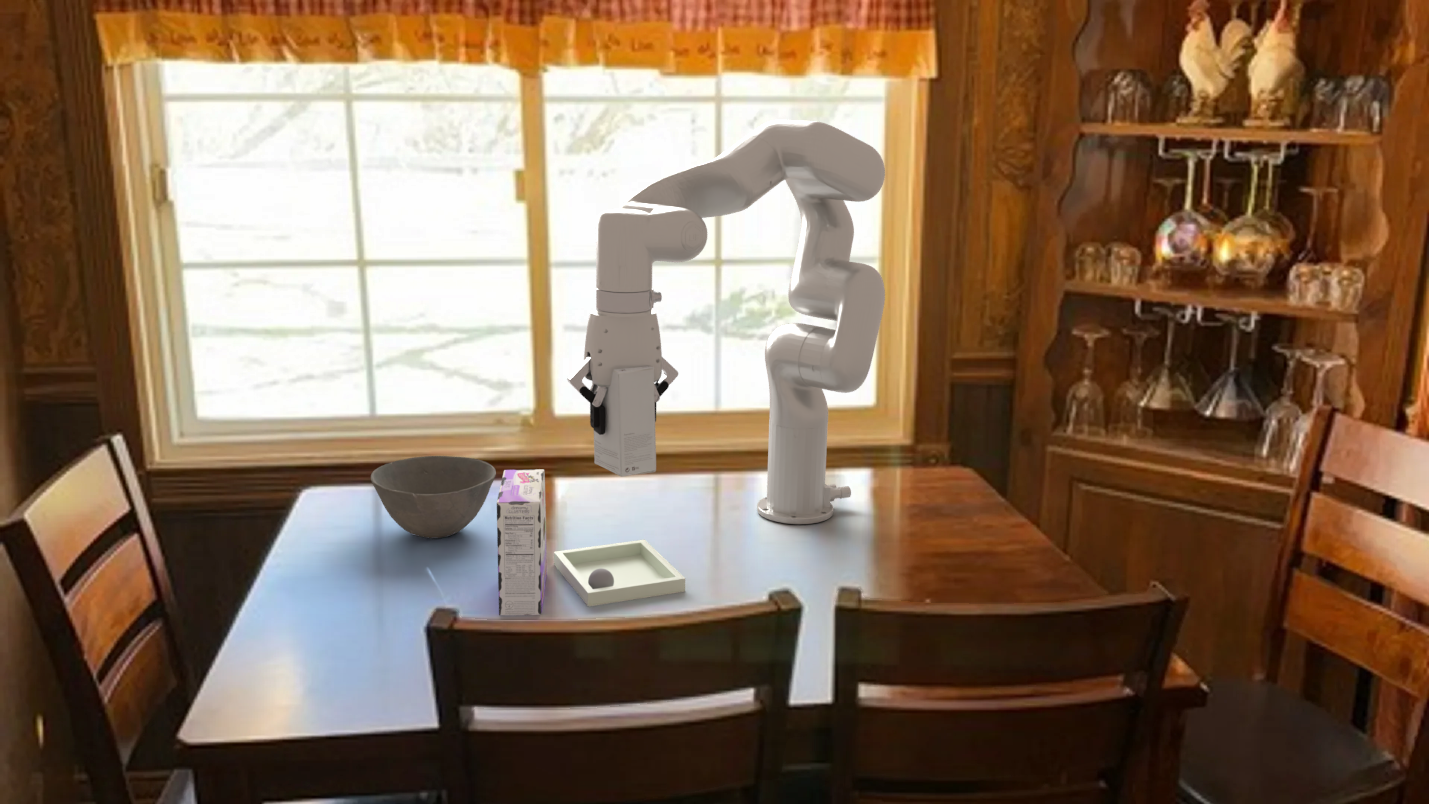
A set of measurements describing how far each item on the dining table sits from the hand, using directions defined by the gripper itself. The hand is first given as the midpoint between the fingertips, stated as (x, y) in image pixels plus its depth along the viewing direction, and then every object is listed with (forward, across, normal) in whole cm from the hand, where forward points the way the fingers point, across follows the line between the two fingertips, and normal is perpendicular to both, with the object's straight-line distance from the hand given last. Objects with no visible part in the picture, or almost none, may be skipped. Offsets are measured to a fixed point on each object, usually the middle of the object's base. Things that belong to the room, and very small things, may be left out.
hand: (623, 429), depth 170 cm
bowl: (+22, +21, -27) cm, 41 cm away
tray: (+22, +1, +1) cm, 22 cm away
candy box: (+22, +15, +2) cm, 27 cm away
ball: (+21, +5, +6) cm, 23 cm away
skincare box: (+6, 0, 0) cm, 6 cm away
